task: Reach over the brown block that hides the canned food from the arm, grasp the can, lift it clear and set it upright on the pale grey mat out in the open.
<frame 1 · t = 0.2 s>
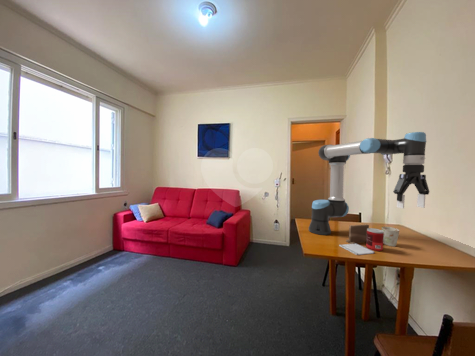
hand: (410, 207, 88), 27 cm above the table, fingers open, 13 cm apart
mat: (356, 249, 103), on the table
canned food: (374, 248, 105), on the table
mug: (385, 244, 112), on the table
brown block: (358, 242, 114), on the table
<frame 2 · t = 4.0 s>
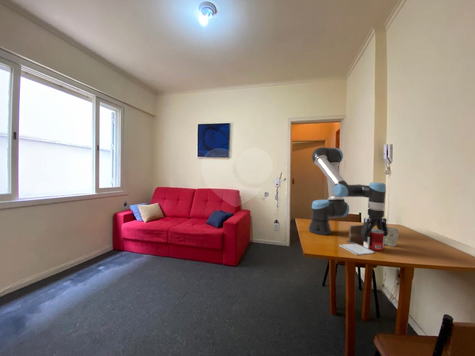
hand: (373, 246, 105), 1 cm above the table, fingers open, 10 cm apart
nothing on the table moved.
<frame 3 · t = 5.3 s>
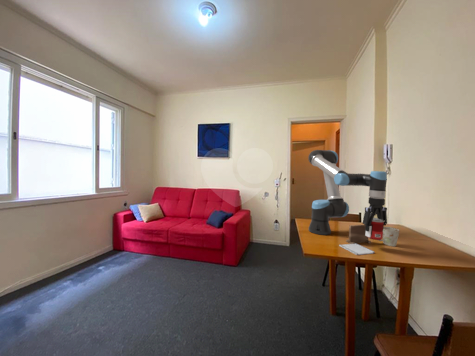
hand: (373, 236, 105), 7 cm above the table, fingers closed on canned food, 8 cm apart
canned food: (373, 237, 105), point 6 cm above the table, touching gripper
everything else where it was.
when the fingers open (2 cm above the table, at t = 10.5 s): canned food stays where it is, resting on mat.
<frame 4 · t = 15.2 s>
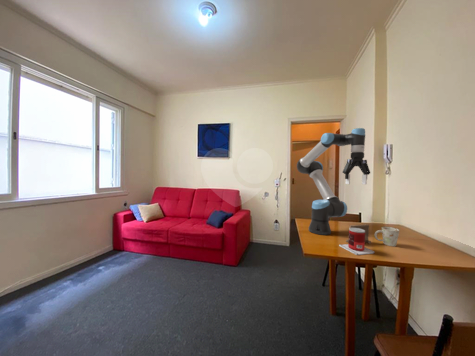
hand: (355, 184, 119), 37 cm above the table, fingers open, 13 cm apart
canned food: (356, 248, 103), resting on mat
everything else where it was.
at the end: canned food inside the target area on the mat (0.0 cm from its centre), point 0.4 cm above the mat's base; canned food tilted 0°; the gripper is holding nothing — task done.
